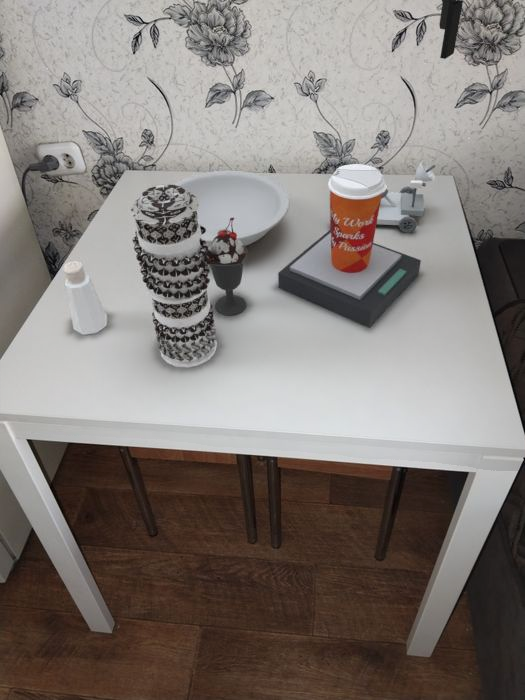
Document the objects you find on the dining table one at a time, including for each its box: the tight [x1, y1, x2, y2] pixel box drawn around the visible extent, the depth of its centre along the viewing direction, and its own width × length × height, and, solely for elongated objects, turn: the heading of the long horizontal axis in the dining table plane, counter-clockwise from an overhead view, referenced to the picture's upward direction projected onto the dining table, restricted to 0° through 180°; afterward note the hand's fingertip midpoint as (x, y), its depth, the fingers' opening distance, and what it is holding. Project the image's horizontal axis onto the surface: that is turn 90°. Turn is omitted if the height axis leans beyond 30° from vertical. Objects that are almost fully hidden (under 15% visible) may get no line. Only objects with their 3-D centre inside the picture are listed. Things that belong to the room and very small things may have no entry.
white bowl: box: [171, 169, 290, 248], centre depth 106 cm, size 24×24×7 cm
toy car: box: [329, 161, 436, 234], centre depth 108 cm, size 18×10×12 cm
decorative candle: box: [130, 183, 218, 368], centre depth 78 cm, size 9×9×25 cm
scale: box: [277, 228, 422, 328], centre depth 96 cm, size 17×16×4 cm
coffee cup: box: [327, 163, 388, 273], centre depth 89 cm, size 8×8×15 cm
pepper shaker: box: [62, 260, 108, 336], centre depth 88 cm, size 5×5×11 cm
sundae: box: [206, 218, 249, 316], centre depth 88 cm, size 7×7×15 cm
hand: (494, 64), depth 79 cm, fingers open, 13 cm apart
